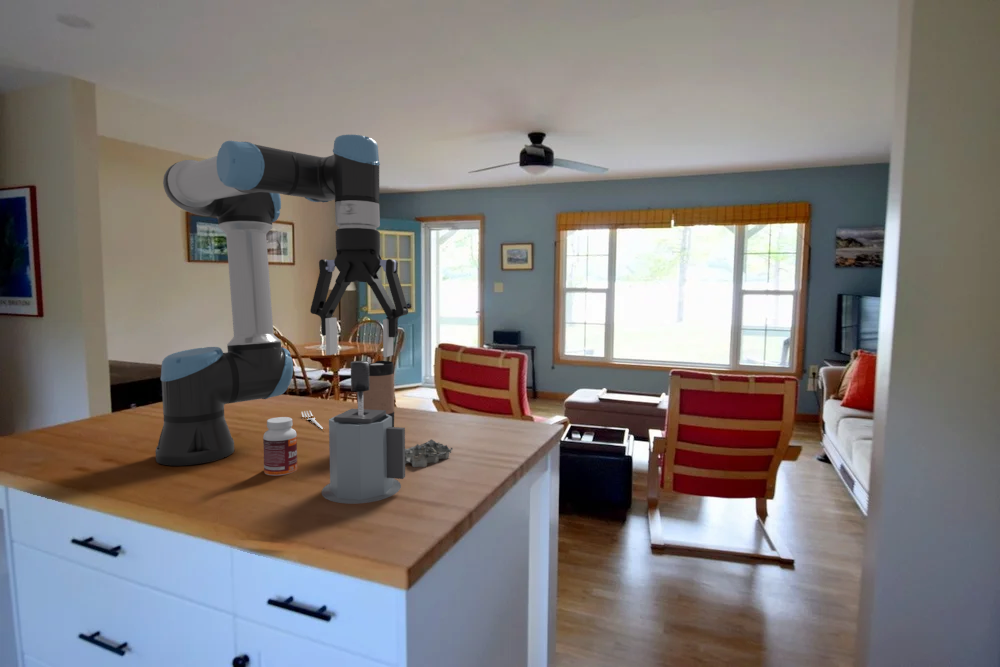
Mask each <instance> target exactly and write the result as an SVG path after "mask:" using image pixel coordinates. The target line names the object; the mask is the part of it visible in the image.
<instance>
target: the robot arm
mask: <svg viewBox="0 0 1000 667" xmlns="http://www.w3.org/2000/svg"><path fill="white" fill-rule="evenodd" d="M333 141H334V142H333V149H332V153H333V154H332V155H328V156H325V157H324V156H316V155H313V154H306V153H301V152H296V151H290V150H284V149H280V148H279V149H278V148H275V147H270V146H265V145H264V146H263V145H259V144H254V143H251V142H249V141H235V140H225V141H224V142H222V143H221V146H220V147H219V149H218V151H217V155H216V156H213V157H210V158H206V159H203V160H199V161H198V160H195V159H184V160H181V161H177V162H175V163H174V164H171V165H170V166H169V167H168V168H167V170H166V171H165V172H164V175H163V178H162V179H163V181H162V184H163V189H164V192H165V193H166V196H167V197H168V199H169V200H170V201H171V202H172V203H173V204H174V205H175V206H177V207H178V208H180V209H182V210H183V211H186V212H188V213H191V214H194V215H197V216H202V217H210V218H217V224H218V225H217V227H218V228H219V229H220V230H221V231H222V232H224V233H225V237H226V249H227V250H226V253H227V263H228V275H229V287H230V288H229V289H230V302H231V313H232V314H231V315H232V316H231V317H232V327H233V328H232V329H233V336H232V339H231V340H230V341H229V342H228V343H226V344H227V347H226V348H227V352H224V351H223V350H222V348H221V347H219V346H206V347H198V348H190V349H186V350H185V349H184V350H181V351H176V352H173V353H171V354H168V355H167V356H165V357H164V358H163V360H162V362H161V370H160V371H161V372H160V381H161V391H162V392H161V394H162V412H163V426H162V429H161V432H160V435H159V439H158V442H157V446H156V448H155V461H156V463H158V464H160V465H163V466H164V465H165V466H172V467H174V466H176V467H177V466H179V467H181V466H191V465H201V464H207V463H211V462H215V461H218V460H222V459H224V457H225V458H226V457H228V456H231V455H232V454H234V452H235V440H234V438H233V437H232V434H231V431H230V429H229V425H228V424H227V421H226V418H225V405H228V404H235V403H236V404H237V403H242V402H248V401H257V400H267V399H270V398H274V397H279V396H281V395H283V394H284V393H285V392H286V391H287V390H288V388H289V386H290V385H291V383H292V379H293V374H294V373H293V372H294V371H293V370H294V363H293V358H292V357H291V355H292V354H291V352H290V351H289V350H288V349H287V348H285V347H283V346H282V340H281V339H279V337H277V336H276V335H275V334H274V322H273V321H274V320H273V310H272V309H273V308H272V297H271V296H272V294H271V283H270V281H271V280H270V271H269V270H270V269H269V268H270V267H269V257H268V256H269V254H268V253H269V252H268V241H267V240H268V239H267V235H268V233H269V232H270V231H271V230H273V223H275V222H276V221H278V220H279V217H280V214H281V211H280V210H281V209H282V200H281V195H284V196H290V197H291V196H292V197H300V198H305V199H306V200H307V201H309V202H313V203H328V202H332V201H334V212H335V213H334V214H335V215H334V216H335V222H334V223H335V226H336V227H338V228H337V229H336V230H335V249H336V256H335V258H334V259H324V258H322V259H320V260H319V262H318V268H319V273H318V274H319V275H318V277H317V282H316V285H315V290H314V294H313V296H312V302H311V306H310V310H309V312H310V314H312V315H316V316H318V317H320V321H321V322H320V325H321V326H320V327H321V328H320V330H321V335H322V337H323V336H325V355H326V356H331V355H336V354H338V323H337V321H338V320H337V319H338V318H337V317H335V315H334V313H335V311H336V309H337V307H338V306H339V303H340V301H341V300H342V298H343V296H344V294H345V292H346V291H347V288H348V287H349V286H350V285H351V283H367V285H368V286H369V287H370V289H371V290H372V293H373V294H374V295H375V297H376V299H377V301H378V303H379V304H380V306H381V308H382V310H383V312H384V314H385V315H386V317H385V318H384V319H382V345H383V346H382V347H383V348H382V350H383V354H382V355H383V356H382V357H384V358H388V357H391V356H394V338H396V337H398V334H399V323H398V322H399V318H400V317H403V316H407V315H408V314H409V308H408V305H407V300H406V299H405V296H404V295H405V294H404V291H403V288H402V285H401V280H400V278H399V274H398V269H399V268H398V266H399V265H398V264H399V263H398V261H397V260H396V259H392V258H391V259H390V258H388V259H382V257H381V233H380V231H379V230H378V228H379V227H380V226H381V223H380V221H381V218H380V217H381V215H380V214H381V213H380V165H381V163H380V158H379V146H378V142H377V141H376V140H374V139H373V138H371V137H369V136H366V135H361V134H341V135H338V136H337V137H335V139H334V140H333ZM381 267H382V269H383V272H385V275H386V279H387V282H388V286H389V291H390V293H391V296H392V299H391V298H390V295H389V294H388V292H387V290H386V289H385V287H384V285H383V283H382V280H381V278H380V277H379V274H378V271H380V269H381ZM335 269H337V270H338V272H339V273H338V275H337V277H336V279H335V282H334V286H333V287H332V289H331V290H330V286H331V283H332V278H333V272H334V271H335ZM329 290H330V293H329ZM328 293H329V294H328ZM392 300H393V301H392Z"/></svg>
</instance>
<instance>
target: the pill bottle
mask: <svg viewBox="0 0 1000 667" xmlns="http://www.w3.org/2000/svg"><path fill="white" fill-rule="evenodd" d="M266 427H267V430H266V431H265V432H264V434H263V436H262V437H263V438H262V440H263V473H264V474H265V475H267V476H285V475H289V474H292V473H295V472H296V471H297V470H298V448H297V447H298V443H297V442H298V437H297V436H298V435H297V431H296V430H295V429H294V428H292V427H293V418H291V417H288V416H279V417H271V418H268V419H267V420H266Z"/></svg>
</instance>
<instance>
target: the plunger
mask: <svg viewBox="0 0 1000 667" xmlns="http://www.w3.org/2000/svg"><path fill="white" fill-rule="evenodd" d="M369 364H370V361H369V360H354V361H350V391H352V392H356V393H357V409H358V415H364V406H363V391H368V390H370V386H369ZM363 424H364V423H358V425H363Z"/></svg>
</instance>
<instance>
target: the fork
mask: <svg viewBox="0 0 1000 667" xmlns="http://www.w3.org/2000/svg"><path fill="white" fill-rule="evenodd" d="M311 416H314V415H313V414H312V411H311V410H309V411H308V410H304V411H301V417H305V418H306V417H308V419H307V420H311V421H312V422H313V423H315V424H316V425H317V426H318V427H320V428H321V429H323V428H324V427H323V426H322V425H321V424H320V423H319V422H318V421H317V420H315V419H316V417H314V418H309V417H311ZM311 421H310V422H311ZM312 422H311V423H312ZM313 423H312V424H313ZM317 426H316V427H317ZM318 427H317V428H318ZM320 428H319V429H320ZM321 429H320V430H321Z"/></svg>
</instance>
